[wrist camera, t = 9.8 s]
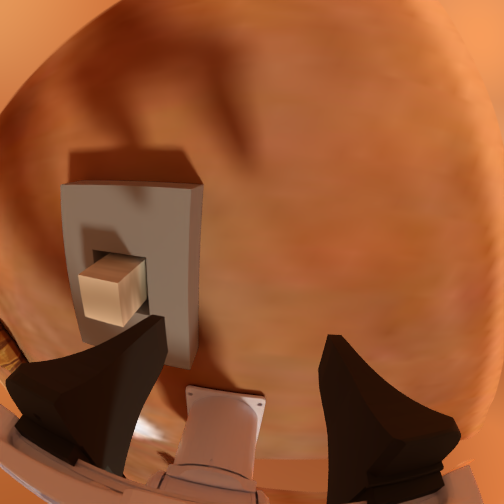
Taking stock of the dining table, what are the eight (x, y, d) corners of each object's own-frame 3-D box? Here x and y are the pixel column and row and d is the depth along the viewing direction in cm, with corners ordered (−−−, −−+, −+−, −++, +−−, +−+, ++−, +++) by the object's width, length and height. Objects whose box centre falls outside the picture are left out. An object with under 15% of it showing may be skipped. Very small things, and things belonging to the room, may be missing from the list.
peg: (155, 287, 22) (123, 327, 16) (122, 281, 22) (85, 316, 16) (155, 251, 21) (117, 283, 15) (120, 246, 21) (77, 274, 15)
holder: (198, 348, 23) (190, 369, 21) (97, 325, 24) (82, 341, 21) (203, 184, 19) (191, 189, 16) (83, 180, 19) (60, 184, 17)
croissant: (-15, 313, 27) (-34, 328, 23) (-7, 299, 26) (-28, 314, 21) (32, 380, 31) (17, 398, 26) (46, 374, 29) (28, 394, 24)
